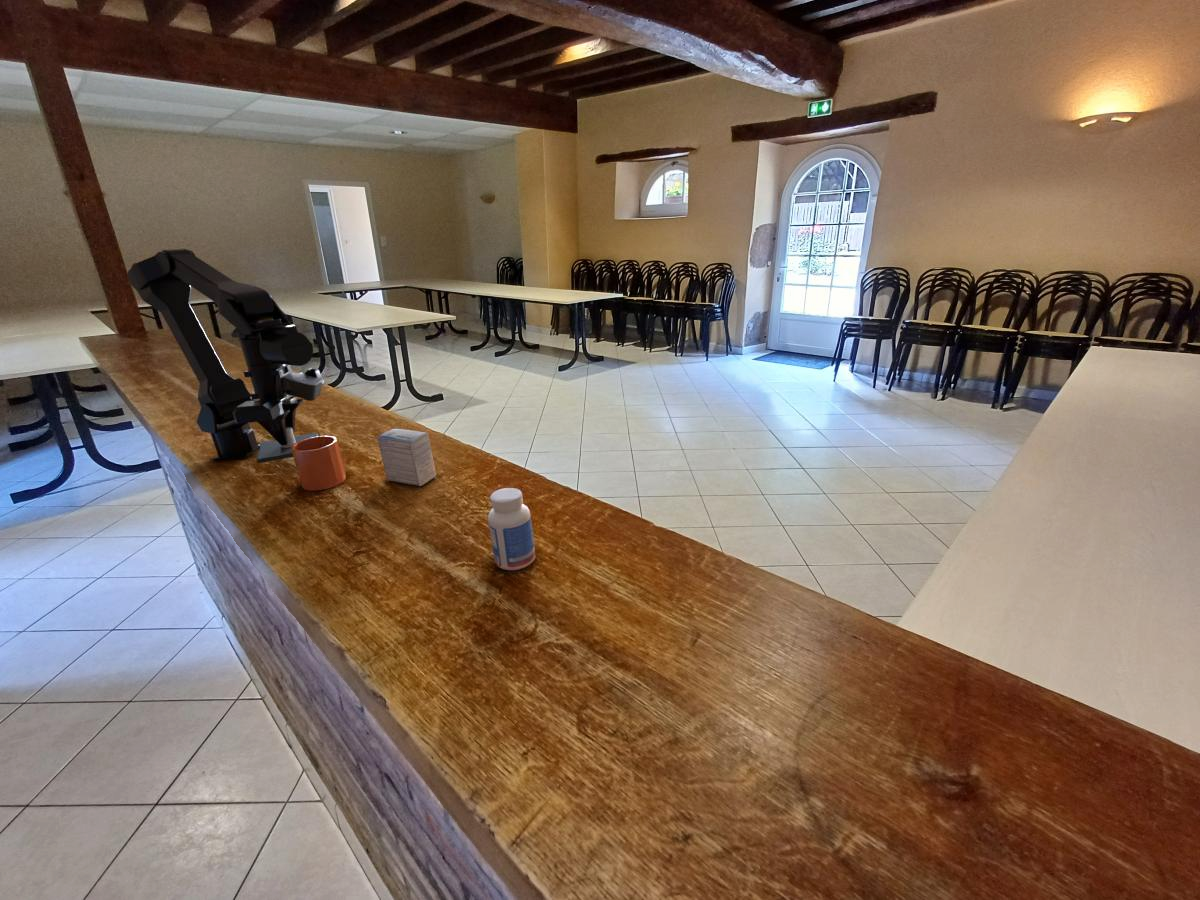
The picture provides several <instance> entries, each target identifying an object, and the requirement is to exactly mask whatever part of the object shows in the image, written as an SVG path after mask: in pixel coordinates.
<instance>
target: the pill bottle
mask: <svg viewBox="0 0 1200 900" xmlns="http://www.w3.org/2000/svg"><path fill="white" fill-rule="evenodd" d="M489 498H490V506H491V508H492V509H491V510H490V511H489V512H488V516H487V521H488V528H489V532H490V533H489V534H490V539H491V546H492V553H493V559H494V562H495V564H496V566H497V567H498V568H500V569H502V570H506V571H517V570H521V569H524V568H526V567H528V566H530V565H531V564H532V563H533V562H534V560H535V558H536V550H535V542H534V533H533V526H532V519H531V511H530V508H528V507H529V506H527V505H525V504H524V499H523V493H522V491H521V490H520V489H519V488H514V487H505V488H500V489H497V490H495V491H493V492H492V493H491V494H490V497H489Z"/></svg>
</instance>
